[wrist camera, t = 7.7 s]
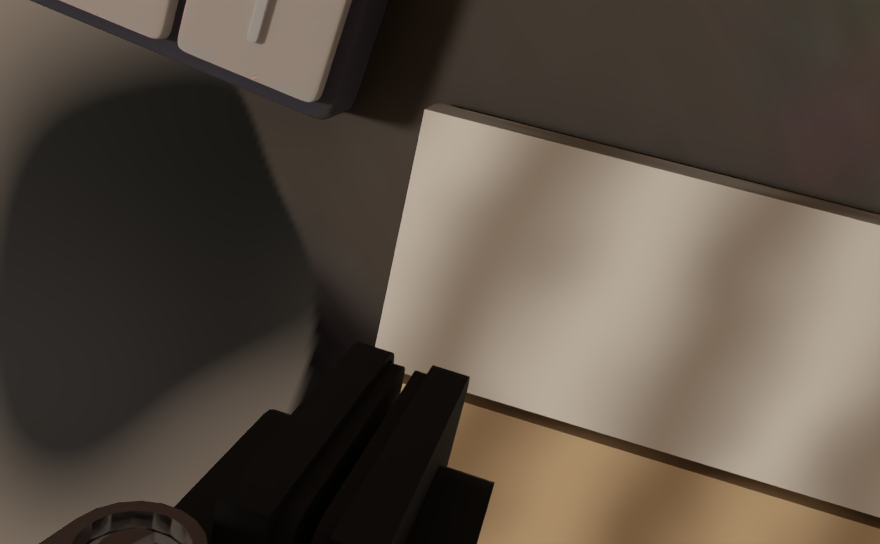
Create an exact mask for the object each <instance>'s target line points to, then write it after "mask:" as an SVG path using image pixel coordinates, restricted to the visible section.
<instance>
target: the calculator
mask: <svg viewBox="0 0 880 544" xmlns="http://www.w3.org/2000/svg"><path fill="white" fill-rule="evenodd" d="M31 1H33V2H36V3H38V4H41V5H43V6H45V7H48V8H50V9H52V10H55V11H57V12H60V13H62V14H65V15H67V16H69V17H72V18H74V19H77V20H79V21H81V22H84V23H86V24H89V25H91V26H93V27H96V28H98V29H101V30H103V31H106V32H108V33H110V34H113V35H115V36H118V37H120V38H122V39H125V40H127V41H130V42H132V43H135V44H137V45H140V46H142V47H144V48H147V49H149V50H151V51H154V52H156V53H159V54H161V55H163V56H166V57H169V58H171V59H173V60H176V61H178V62H180V63H183V64H185V65H188V66H190V67H193V68H195V69H197V70H200V71H202V72H205V73H207V74H210V75H212V76H214V77H217V78H219V79H222V80H224V81H226V82H229V83H231V84H233V85H236V86H238V87H241V88H243V89H246V90H248V91H250V92H253V93H255V94H258V95H260V96H262V97H265V98H267V99H270V100H272V101H275V102H277V103H279V104H282V105H284V106H287V107H289V108H291V109H294V110H296V111H299V112H301V113H304V114H306V115H308V116H311V117H313V118H316V119H321V120H323V119H328V118H330V117H333V116H335V115H338V114H340V113H343V112H345V111H348V110H349V109H351V108H352V106H353V105H354V103H355V100H356V97H357V94H358V91H359V88H360V85H361V82H362V79H363V76H364V73H365V70H366V67H367V64H368V61H369V58H370V55H371V52H372V49H373V46H374V43H375V40H376V37H377V34H378V31H379V28H380V25H381V22H382V19H383V16H384V13H385V10H386V7H387V4H388V1H389V0H31Z"/></svg>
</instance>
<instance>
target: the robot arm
mask: <svg viewBox="0 0 880 544" xmlns="http://www.w3.org/2000/svg"><path fill="white" fill-rule="evenodd" d="M404 374H405V367H404V366H400V365H397V364H394V353H392V352H389V351H386V350H383V349H380V348H376V347H373V346H370V345H367V344H363V343H360V342H356V343H354V344H353V346H352V347H351V348H350V349H349V350H348V351H347V352H346V353H345V355H344V356H343V357H342V358H341V359H340V360H339V361H338V362H337V364H336V365H335V366H334V367H333V368H332V369H331V370H330V371H329V373H328V374H327V375H326V376H325V377H324V378H323V379H322V380H321V382H320V383H319V384H318V385H317V386H316V387H315V388H314V389H313V391H312V392H311V393H310V394H309V395H308V396H307V397H306V398H305V400H304V401H303V402H302V403H301V404H300V405H299V406H298V407H297V409H296V410H295V411H294V412H293V413H292V414H291V415H290V414H287V413H284V412H280V411H277V410H269V411H267V412H266V413H265V414H263V415H262V417H260V419H259V420H258V421H257V422H256V423H255V424H254V425H253V426H252V427H251V428H250V429H249V430H248V431H247V432H246V433H245V434H244V435H243V436H242V437H241V438H240V439H239V440H238V441H237V442H236V444H235V445H234V446H233V447H232V448H231V449H230V450H229V451H228V452H227V453H226V454H225V455H224V456H223V457H222V458H221V459H220V460H219V461H218V462H217V463H216V464H215V465H214V466H213V467H212V468H211V469H210V470H209V471H208V473H207V474H206V475H205V476H204V477H203V478H202V479H201V480H200V481H199V482H198V483H197V484H196V485H195V486H194V487H193V488H192V489H191V490H190V491H189V492H188V493H187V494H186V495H185V496H184V497H183V498H182V500H181V501H180V502H179V503H178V504H177V505H176V506H175V507H171V506H168V505H165V504H162V503H154V502H145V501H133V502H119V503H115V504H111V505H108V506H104V507H100V508H96V509H94V510H92V511H90V512H88V513H86V514H85V515H83V516H81V517H79V518H77V519H75V520H74V521H72V522H71V523H69V524H68V525H66V526H65V527H63V528H62V529H61V530H59V531H57V532H56V533H54V534H53V535H52V536H50V537H48V538H47V539H46V540H44V541H43V542H41V543H39V544H477V542H478V539H479V535H480V532H481V528H482V525H483V522H484V518H485V515H486V511H487V508H488V504H489V501H490V497H491V494H492V491H493V487H494V484H495V482H492V481H489V480H486V479H483V478H480V477H477V476H474V475H471V474H468V473H465V472H462V471H459V470H456V469H453V468H450V467H447V466H448V462H449V458H450V454H451V450H452V447H453V443H454V439H455V435H456V431H457V428H458V424H459V420H460V416H461V412H462V409H463V405H464V401H465V397H466V393H467V389H468V385H469V380H470V377H469V376H466V375H463V374H460V373H457V372H453V371H450V370H447V369H444V368H441V367H437V366H434V365H432V367H431V368H430V370H429V371H428V373H427V374H426V373H423V372H419V371H416V370H415V371H414V373H413V374H412V376H411V377H410V379H409V380H408V382H407V384H406V385H405V387H404V388H403V390H402V391H401V388H402V384H403V379H404ZM400 392H401V393H400Z"/></svg>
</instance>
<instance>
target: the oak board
mask: <svg viewBox="0 0 880 544" xmlns="http://www.w3.org/2000/svg"><path fill="white" fill-rule="evenodd" d="M410 377H411V375H408V374H404V379H403V384H402V388H401V391H402V390H403V388H404V387H405V385H406V384H407V382H408V380H409V379H410ZM400 393H401V392H400ZM447 467H450V468H453V469H456V470H459V471H462V472H465V473H468V474H471V475H474V476H477V477H480V478H483V479H486V480H489V481H492V482H495V484H494V487H493V491H492V494H491V497H490V501H489V504H488V508H487V511H486V515H485V518H484V522H483V525H482V528H481V532H480V535H479V539H478V542H477V544H880V518H879V517H876V516H873V515H869V514H866V513H863V512H859V511H856V510H853V509H850V508H846V507H843V506H840V505H836V504H833V503H830V502H826V501H823V500H820V499H817V498H813V497H810V496H807V495H803V494H800V493H797V492H793V491H790V490H787V489H784V488H780V487H777V486H774V485H770V484H767V483H764V482H760V481H757V480H754V479H751V478H747V477H744V476H741V475H737V474H734V473H731V472H727V471H724V470H721V469H718V468H714V467H711V466H708V465H704V464H701V463H698V462H694V461H691V460H688V459H685V458H681V457H678V456H675V455H671V454H668V453H665V452H662V451H658V450H655V449H652V448H648V447H645V446H642V445H638V444H635V443H632V442H629V441H625V440H622V439H619V438H615V437H612V436H609V435H605V434H602V433H599V432H596V431H592V430H589V429H586V428H582V427H579V426H576V425H572V424H569V423H566V422H563V421H559V420H556V419H553V418H549V417H546V416H543V415H539V414H536V413H533V412H530V411H526V410H523V409H520V408H516V407H513V406H510V405H506V404H503V403H500V402H497V401H493V400H490V399H487V398H483V397H480V396H477V395H473V394H470V393H466V397H465V401H464V405H463V409H462V412H461V416H460V420H459V424H458V428H457V431H456V435H455V439H454V443H453V447H452V450H451V454H450V458H449V462H448V466H447Z"/></svg>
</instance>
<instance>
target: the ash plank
mask: <svg viewBox="0 0 880 544" xmlns="http://www.w3.org/2000/svg"><path fill="white" fill-rule="evenodd" d="M375 347H376V348H380V349H383V350H386V351H389V352H392V353H394V364H397V365H400V366H404V367H405V374H408V375H411V376H412V374H413V373H414V371H415V370H416V371H419V372H423V373H426V374H427V373H428V371H429V370H430V368H431V367H432V365H434V366H437V367H441V368H444V369H447V370H450V371H453V372H457V373H460V374H463V375H466V376H469V377H470V380H469V385H468V389H467V393H470V394H473V395H477V396H480V397H483V398H487V399H490V400H493V401H497V402H500V403H503V404H506V405H510V406H513V407H516V408H520V409H523V410H526V411H530V412H533V413H536V414H539V415H543V416H546V417H549V418H553V419H556V420H559V421H563V422H566V423H569V424H572V425H576V426H579V427H582V428H586V429H589V430H592V431H596V432H599V433H602V434H605V435H609V436H612V437H615V438H619V439H622V440H625V441H629V442H632V443H635V444H638V445H642V446H645V447H648V448H652V449H655V450H658V451H662V452H665V453H668V454H671V455H675V456H678V457H681V458H685V459H688V460H691V461H694V462H698V463H701V464H704V465H708V466H711V467H714V468H718V469H721V470H724V471H727V472H731V473H734V474H737V475H741V476H744V477H747V478H751V479H754V480H757V481H760V482H764V483H767V484H770V485H774V486H777V487H780V488H784V489H787V490H790V491H793V492H797V493H800V494H803V495H807V496H810V497H813V498H817V499H820V500H823V501H826V502H830V503H833V504H836V505H840V506H843V507H846V508H850V509H853V510H856V511H859V512H863V513H866V514H869V515H873V516H876V517H879V518H880V215H878V214H874V213H870V212H866V211H863V210H859V209H855V208H851V207H847V206H843V205H839V204H835V203H831V202H827V201H823V200H819V199H815V198H811V197H807V196H804V195H800V194H796V193H792V192H788V191H784V190H780V189H776V188H772V187H768V186H764V185H760V184H756V183H752V182H748V181H744V180H741V179H737V178H733V177H729V176H725V175H721V174H717V173H713V172H709V171H705V170H701V169H697V168H693V167H689V166H685V165H681V164H678V163H674V162H670V161H666V160H662V159H658V158H654V157H650V156H646V155H642V154H638V153H634V152H630V151H626V150H622V149H619V148H615V147H611V146H607V145H603V144H599V143H595V142H591V141H587V140H583V139H579V138H575V137H571V136H567V135H563V134H559V133H556V132H552V131H548V130H544V129H540V128H536V127H532V126H528V125H524V124H520V123H516V122H512V121H508V120H504V119H500V118H496V117H493V116H489V115H485V114H481V113H477V112H473V111H469V110H465V109H461V108H457V107H453V106H449V105H445V104H441V103H437V104H435V105H432V106H430V107H428V108H426V109H425V110H424V115H423V120H422V124H421V129H420V134H419V139H418V144H417V148H416V153H415V158H414V163H413V167H412V172H411V177H410V182H409V187H408V191H407V196H406V201H405V206H404V211H403V215H402V220H401V225H400V230H399V235H398V239H397V244H396V249H395V254H394V259H393V263H392V268H391V273H390V278H389V283H388V287H387V292H386V297H385V302H384V307H383V311H382V316H381V321H380V326H379V331H378V335H377V340H376V345H375Z"/></svg>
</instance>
